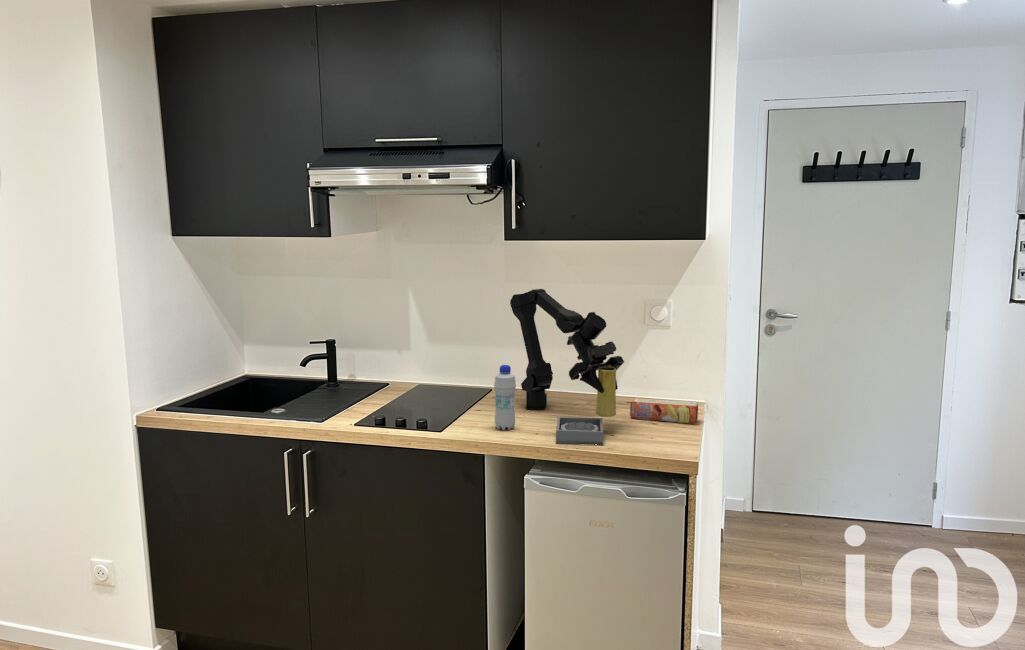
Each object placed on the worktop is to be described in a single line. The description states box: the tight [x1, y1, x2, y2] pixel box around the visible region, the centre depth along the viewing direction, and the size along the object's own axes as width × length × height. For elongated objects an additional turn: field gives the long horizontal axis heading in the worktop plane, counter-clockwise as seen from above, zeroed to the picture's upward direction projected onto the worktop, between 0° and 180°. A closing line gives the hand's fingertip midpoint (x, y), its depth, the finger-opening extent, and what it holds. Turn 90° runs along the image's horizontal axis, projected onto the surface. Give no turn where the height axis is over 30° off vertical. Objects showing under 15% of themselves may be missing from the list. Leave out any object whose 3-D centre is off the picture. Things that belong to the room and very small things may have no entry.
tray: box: [555, 416, 604, 446], centre depth 224 cm, size 14×14×4 cm
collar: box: [561, 422, 598, 431], centre depth 224 cm, size 11×11×2 cm
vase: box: [595, 366, 617, 418], centre depth 227 cm, size 6×6×14 cm
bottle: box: [493, 364, 517, 431], centre depth 231 cm, size 7×7×20 cm
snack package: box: [629, 397, 699, 425], centre depth 242 cm, size 21×7×7 cm, turn 71°
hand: (609, 390), depth 226 cm, fingers closed on vase, 5 cm apart
